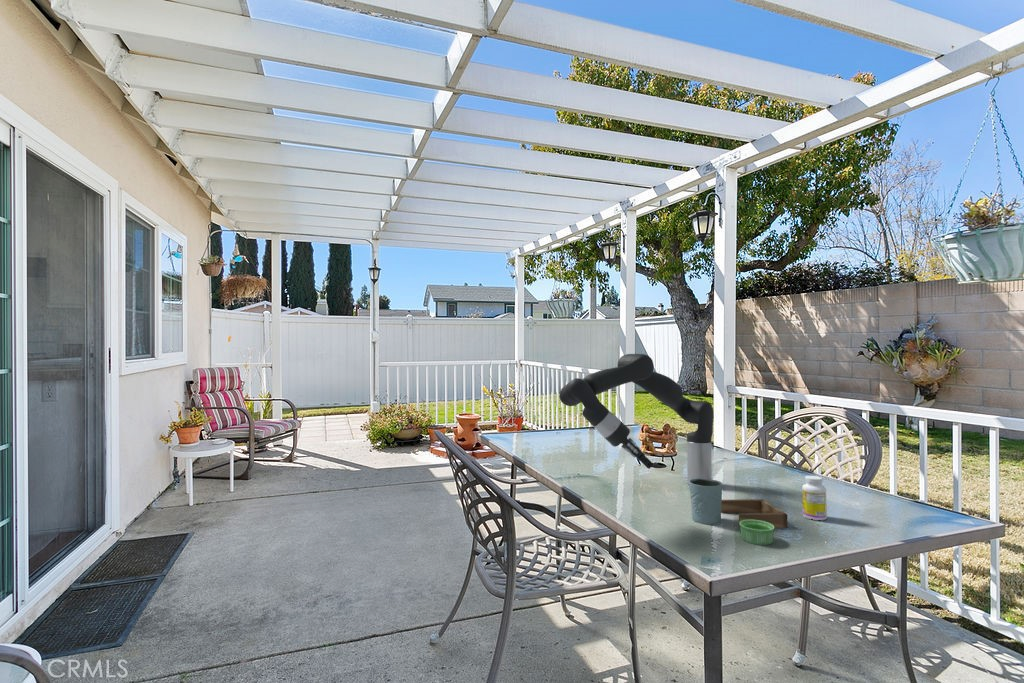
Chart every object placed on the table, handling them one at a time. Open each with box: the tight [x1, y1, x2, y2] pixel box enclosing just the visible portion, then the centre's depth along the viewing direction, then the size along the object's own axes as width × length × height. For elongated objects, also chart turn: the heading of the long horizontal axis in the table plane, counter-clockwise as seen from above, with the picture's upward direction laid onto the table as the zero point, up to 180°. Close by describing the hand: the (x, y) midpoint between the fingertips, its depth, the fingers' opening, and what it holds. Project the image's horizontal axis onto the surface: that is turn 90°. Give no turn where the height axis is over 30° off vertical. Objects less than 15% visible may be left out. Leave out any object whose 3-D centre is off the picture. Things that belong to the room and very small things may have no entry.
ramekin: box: [738, 519, 775, 546], centre depth 144 cm, size 9×9×4 cm
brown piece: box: [721, 498, 789, 529], centre depth 161 cm, size 15×14×4 cm
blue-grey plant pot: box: [688, 478, 723, 526], centre depth 161 cm, size 10×10×12 cm
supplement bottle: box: [801, 475, 828, 521], centre depth 162 cm, size 7×7×13 cm
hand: (650, 466), depth 162 cm, fingers closed
